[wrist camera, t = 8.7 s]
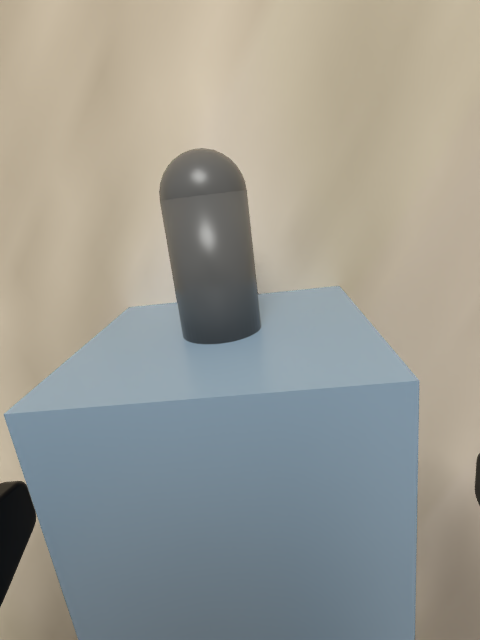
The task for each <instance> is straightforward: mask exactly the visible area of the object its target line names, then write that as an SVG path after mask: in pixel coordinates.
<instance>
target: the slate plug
mask: <svg viewBox="0 0 480 640" xmlns="http://www.w3.org/2000/svg"><path fill="white" fill-rule="evenodd" d="M159 194H160V204H161V210H162V216H163V222H164V227H165V233H166V239H167V245H168V251H169V257H170V263H171V269H172V275H173V281H174V286H175V292H176V298H177V303H167V304H157V305H147V306H138V307H129V308H128V309H126V310H125V311H124V312H123V313H122V314H121V315H119V316H118V317H117V318H116V319H115V320H114V321H112V322H111V323H110V324H109V325H108V326H107V327H105V328H104V329H103V330H102V331H101V332H99V333H98V334H97V335H96V336H95V337H94V338H92V339H91V340H90V341H89V342H88V343H87V344H85V345H84V346H83V347H82V348H81V349H80V350H78V351H77V352H76V353H75V354H74V355H72V356H71V357H70V358H69V359H68V360H67V361H65V362H64V363H63V364H62V365H61V366H60V367H58V368H57V369H56V370H55V371H54V372H53V373H51V374H50V375H49V376H48V377H47V378H46V379H44V380H43V381H42V382H41V383H40V384H38V385H37V386H36V387H35V388H34V389H33V390H31V391H30V392H29V393H28V394H27V395H26V396H24V397H23V398H22V399H21V400H20V401H19V402H17V403H16V404H15V405H14V406H13V407H12V408H10V409H9V410H8V411H7V412H6V413H4V417H5V420H6V423H7V426H8V429H9V432H10V435H11V438H12V441H13V444H14V447H15V450H16V453H17V456H18V459H19V462H20V465H21V468H22V471H23V474H24V477H25V480H26V483H27V486H28V489H29V492H30V495H31V498H32V502H33V505H34V508H35V511H36V514H37V517H38V520H39V523H40V526H41V529H42V532H43V535H44V538H45V541H46V544H47V547H48V550H49V553H50V556H51V559H52V562H53V565H54V568H55V571H56V574H57V577H58V580H59V583H60V586H61V589H62V592H63V595H64V598H65V601H66V604H67V607H68V610H69V613H70V616H71V619H72V622H73V625H74V628H75V631H76V634H77V637H78V640H415V602H416V543H417V483H418V424H419V380H418V379H417V377H416V376H415V375H414V374H413V373H412V372H411V370H410V369H409V368H408V367H407V366H406V364H405V363H404V362H403V361H402V360H401V358H400V357H399V356H398V355H397V354H396V353H395V351H394V350H393V349H392V348H391V347H390V345H389V344H388V343H387V342H386V341H385V340H384V338H383V337H382V336H381V335H380V334H379V332H378V331H377V330H376V329H375V328H374V326H373V325H372V324H371V323H370V322H369V321H368V319H367V318H366V317H365V316H364V315H363V313H362V312H361V311H360V310H359V309H358V308H357V306H356V305H355V304H354V303H353V302H352V300H351V299H350V298H349V297H348V296H347V294H346V293H345V292H344V291H343V290H342V289H341V287H340V286H334V287H324V288H314V289H304V290H294V291H285V292H275V293H265V294H258V292H257V282H256V273H255V264H254V254H253V245H252V236H251V226H250V217H249V208H248V198H247V190H246V185H245V181H244V178H243V176H242V173H241V172H240V170H239V169H238V167H237V166H236V164H235V163H234V162H233V161H232V160H231V159H230V158H228V157H227V156H225V155H224V154H222V153H220V152H217V151H215V150H210V149H205V148H201V149H193V150H189V151H187V152H184V153H182V154H180V155H179V156H178V157H176V158H175V159H174V160H173V161H172V162H171V163H170V164H169V165H168V167H167V169H166V170H165V172H164V174H163V177H162V180H161V183H160V191H159Z"/></svg>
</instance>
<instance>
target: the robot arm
mask: <svg viewBox="0 0 480 640" xmlns="http://www.w3.org/2000/svg"><path fill="white" fill-rule="evenodd" d="M475 494H476V498H477V501H478V503H479V505H480V454H479V455H478V457H477V463H476V478H475ZM35 522H36V512H35V508H34V505H33V502H32V499H31V496H30V493H29V490H28V487H27V485H26V484H25V483H24V482H22V481H13V482H3V483H1V484H0V606H1V604H2V602H3V600H4V598H5V595H6V593H7V591H8V589H9V586H10V584H11V581H12V579H13V576H14V574H15V572H16V569H17V567H18V564H19V562H20V560H21V557H22V555H23V552H24V550H25V548H26V545H27V543H28V540H29V538H30V536H31V533H32V531H33V528H34V526H35Z"/></svg>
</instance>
